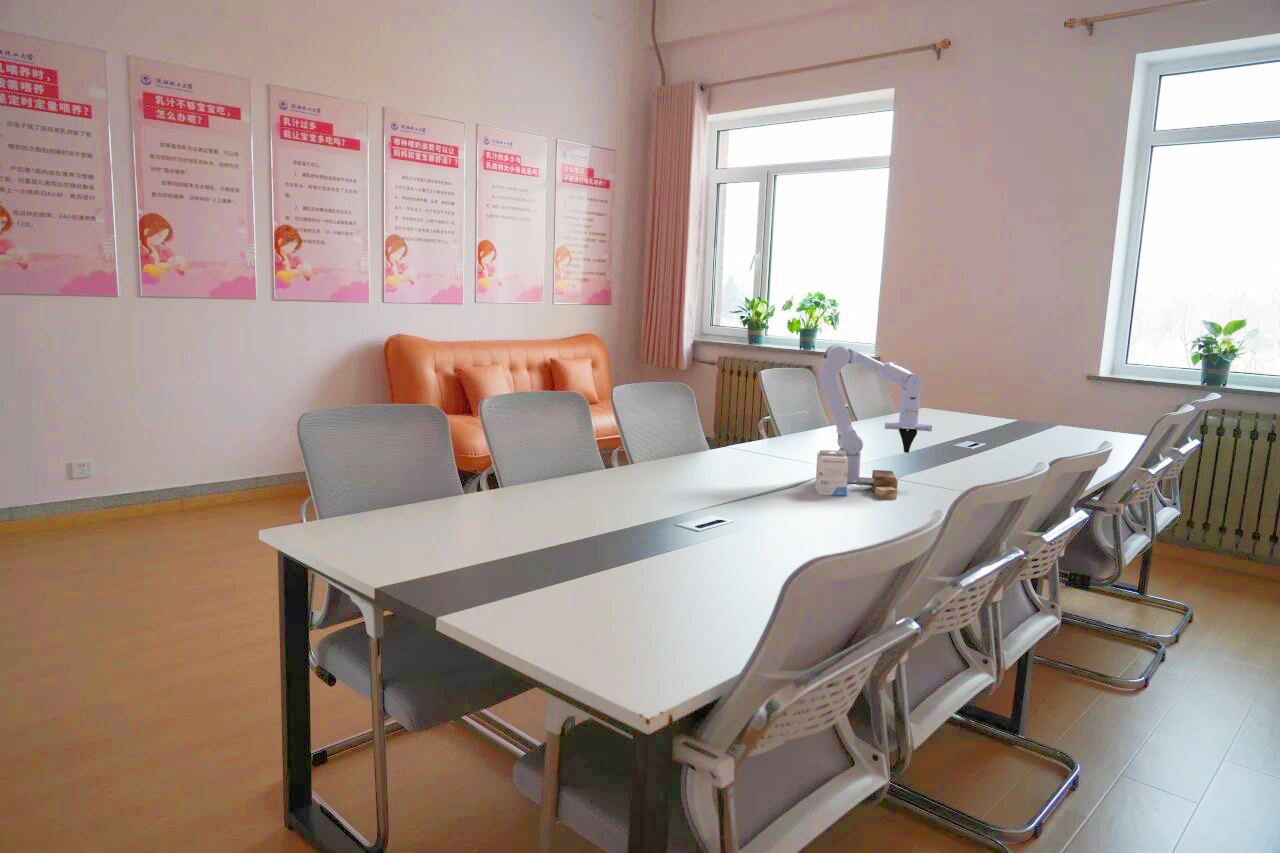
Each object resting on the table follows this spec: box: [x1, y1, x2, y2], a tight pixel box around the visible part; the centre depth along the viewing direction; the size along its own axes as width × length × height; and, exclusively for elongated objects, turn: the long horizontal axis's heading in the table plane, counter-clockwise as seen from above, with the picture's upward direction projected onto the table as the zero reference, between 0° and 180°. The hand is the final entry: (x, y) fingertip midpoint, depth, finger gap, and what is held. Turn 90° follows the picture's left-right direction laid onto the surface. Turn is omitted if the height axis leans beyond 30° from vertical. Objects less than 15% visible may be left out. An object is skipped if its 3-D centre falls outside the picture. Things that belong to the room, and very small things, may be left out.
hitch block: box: [871, 469, 897, 495], centre depth 264 cm, size 6×10×5 cm, turn 169°
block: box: [874, 487, 898, 500], centre depth 255 cm, size 5×4×3 cm
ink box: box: [815, 449, 848, 497], centre depth 259 cm, size 9×8×13 cm
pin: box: [855, 476, 899, 491], centre depth 264 cm, size 12×4×4 cm, turn 79°
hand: (906, 452), depth 276 cm, fingers closed
